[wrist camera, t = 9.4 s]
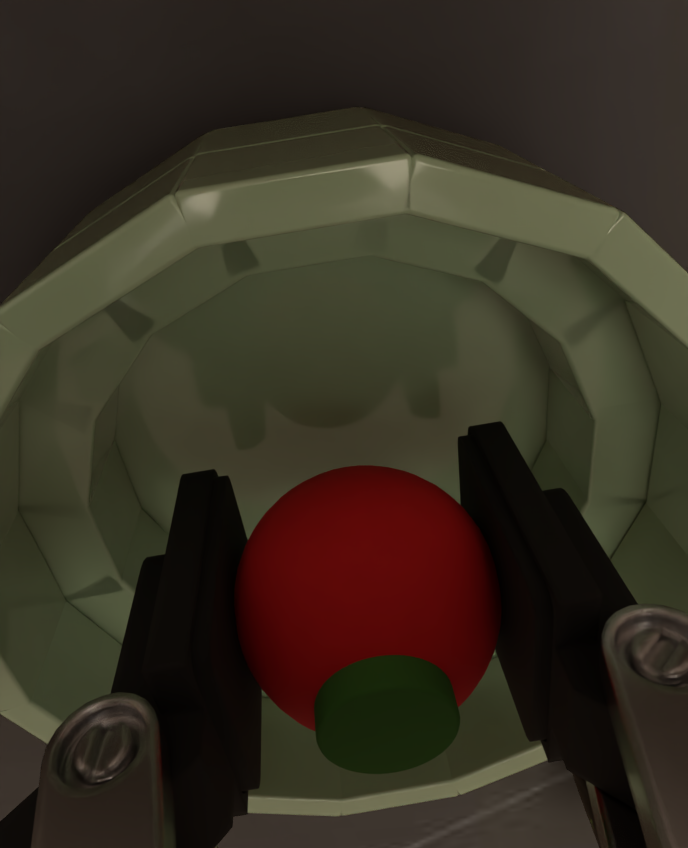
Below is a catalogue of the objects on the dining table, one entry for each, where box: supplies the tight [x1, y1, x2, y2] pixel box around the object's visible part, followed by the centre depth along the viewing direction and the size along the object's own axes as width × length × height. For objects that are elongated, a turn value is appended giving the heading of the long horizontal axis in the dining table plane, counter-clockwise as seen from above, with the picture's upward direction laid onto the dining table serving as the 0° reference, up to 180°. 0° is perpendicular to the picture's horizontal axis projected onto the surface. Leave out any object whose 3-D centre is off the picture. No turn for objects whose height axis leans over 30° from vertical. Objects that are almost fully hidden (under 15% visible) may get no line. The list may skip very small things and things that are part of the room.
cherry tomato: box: [234, 465, 502, 774], centre depth 10 cm, size 4×4×4 cm
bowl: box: [0, 107, 688, 816], centre depth 12 cm, size 12×12×5 cm
